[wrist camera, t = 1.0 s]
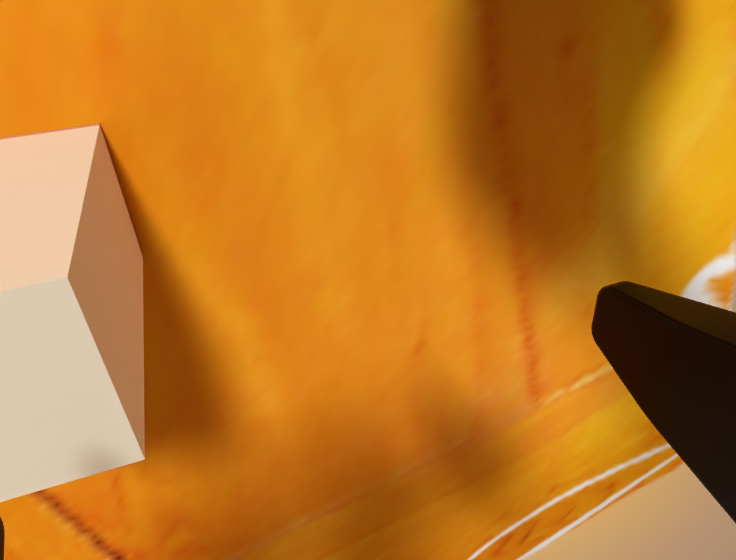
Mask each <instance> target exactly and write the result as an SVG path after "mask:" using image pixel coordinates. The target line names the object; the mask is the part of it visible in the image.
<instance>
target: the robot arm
mask: <svg viewBox="0 0 736 560" xmlns="http://www.w3.org/2000/svg"><path fill="white" fill-rule="evenodd" d="M591 329H592V335H593V338H594V340H595V342H596V344H597V345H598V347H599V348H600V350H601V351H602V353H603V354H604V356H605V357H606V359H607V360H608V361H609V363H610V364H611V366H612V367H613V369H614V370H615V372H616V373H617V375H618V376H619V377H620V379H621V380H622V382H623V383H624V385H625V386H626V388H627V389H628V391H629V392H630V394H631V395H632V396H633V398H634V399H635V401H636V402H637V404H638V405H639V407H640V408H641V409H642V411H643V412H644V413H645V415H646V416H647V418H648V419H649V420H650V421H651V423H652V424H653V425H654V426H655V428H656V429H657V430H658V431H659V433H660V434H661V435H662V436H663V437H664V439H665V440H666V441H667V442H668V443H669V445H670V446H671V447H672V448H673V449H674V450H675V452H676V453H677V454H678V455H679V456H680V458H681V459H682V460H683V461H684V462H685V463H686V465H687V466H688V467H689V468H690V470H691V471H692V472H693V473H694V474H695V475H696V477H697V478H698V479H699V480H700V481H701V482H702V484H703V485H704V486H705V487H706V489H707V490H708V491H709V492H710V493H711V495H712V496H713V497H714V498H715V499H716V500H717V502H718V503H719V504H720V505H721V506H722V507H723V509H724V510H725V511H726V512H727V513H728V515H729V516H730V517H731V518H732V519H733V521H734V522H735V523H736V313H735V312H732V311H728V310H725V309H721V308H718V307H714V306H711V305H708V304H704V303H701V302H697V301H694V300H690V299H687V298H684V297H680V296H677V295H673V294H670V293H666V292H663V291H660V290H656V289H653V288H649V287H646V286H642V285H639V284H636V283H632V282H628V281H622V282H618V283H615V284H611V285H608V286H605V287H603V288H601V290H600V291H599V293H598V295H597V300H596V305H595V311H594V316H593V321H592V327H591ZM0 560H4V525H3V522H2V519H1V517H0Z"/></svg>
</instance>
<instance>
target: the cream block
mask: <svg viewBox="0 0 736 560" xmlns="http://www.w3.org/2000/svg"><path fill="white" fill-rule="evenodd" d="M141 460H145V419H144V314H143V254H142V251H141V248H140V245H139V242H138V239H137V236H136V233H135V229H134V226H133V223H132V220H131V217H130V214H129V211H128V208H127V205H126V202H125V199H124V196H123V193H122V190H121V187H120V183H119V180H118V177H117V174H116V171H115V168H114V165H113V162H112V159H111V156H110V153H109V150H108V147H107V144H106V141H105V137H104V134H103V131H102V128H101V125H100V123H99V124H92V125H85V126H78V127H71V128H64V129H57V130H51V131H44V132H37V133H30V134H23V135H16V136H9V137H2V138H0V502H2V501H5V500H9V499H12V498H16V497H19V496H22V495H26V494H29V493H33V492H36V491H39V490H43V489H46V488H50V487H53V486H56V485H60V484H63V483H67V482H70V481H73V480H77V479H80V478H83V477H87V476H90V475H94V474H97V473H100V472H104V471H107V470H111V469H114V468H117V467H121V466H124V465H128V464H131V463H134V462H138V461H141Z"/></svg>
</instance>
